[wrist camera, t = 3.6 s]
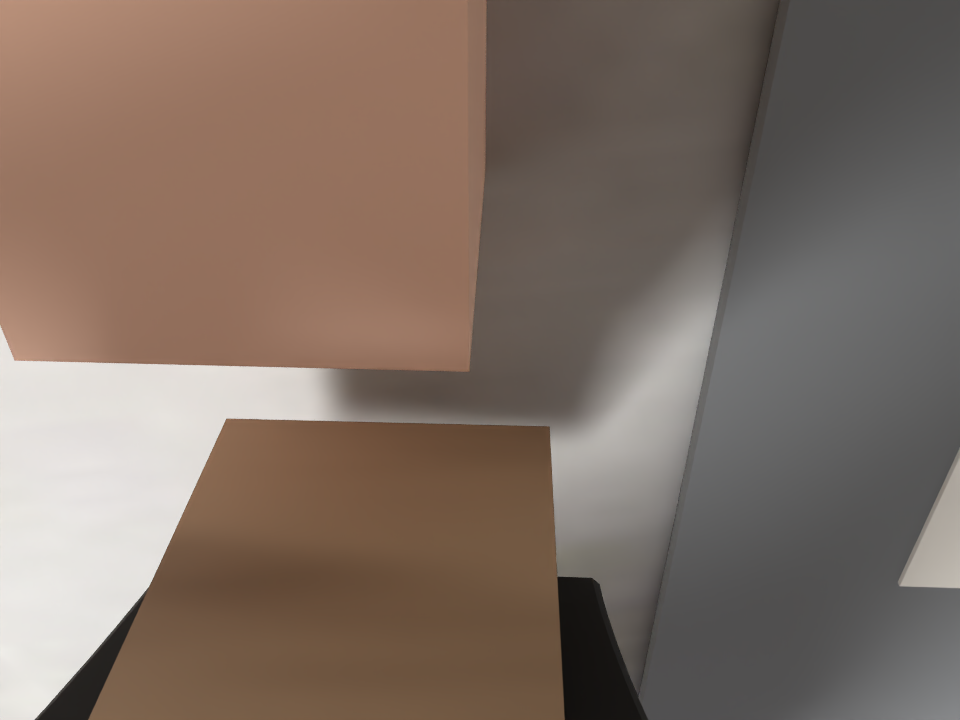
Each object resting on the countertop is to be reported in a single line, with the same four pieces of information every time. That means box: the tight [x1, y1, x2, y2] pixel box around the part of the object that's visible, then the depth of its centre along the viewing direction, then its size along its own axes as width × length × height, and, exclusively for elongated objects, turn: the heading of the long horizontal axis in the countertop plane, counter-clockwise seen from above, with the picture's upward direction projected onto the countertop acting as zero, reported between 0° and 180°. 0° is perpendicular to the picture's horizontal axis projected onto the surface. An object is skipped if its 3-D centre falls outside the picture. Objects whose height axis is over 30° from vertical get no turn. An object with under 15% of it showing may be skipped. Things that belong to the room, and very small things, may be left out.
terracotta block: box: [0, 0, 487, 372], centre depth 9 cm, size 4×4×5 cm
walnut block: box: [88, 419, 565, 720], centre depth 11 cm, size 4×4×5 cm
